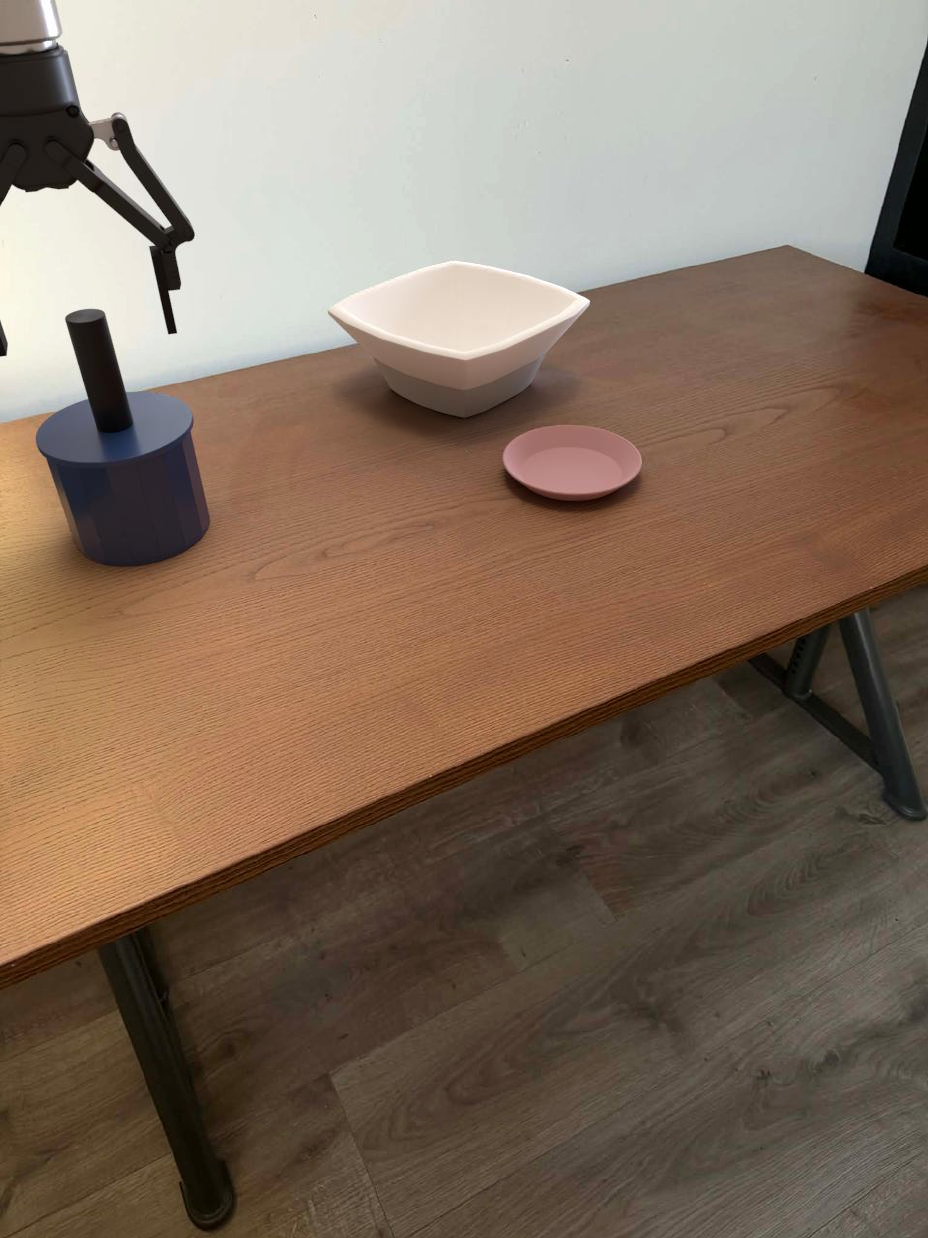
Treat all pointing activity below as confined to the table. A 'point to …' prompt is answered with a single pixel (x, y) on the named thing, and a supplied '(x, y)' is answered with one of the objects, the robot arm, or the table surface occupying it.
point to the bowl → (459, 332)
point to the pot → (135, 507)
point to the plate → (572, 462)
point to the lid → (109, 409)
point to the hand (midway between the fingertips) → (88, 339)
